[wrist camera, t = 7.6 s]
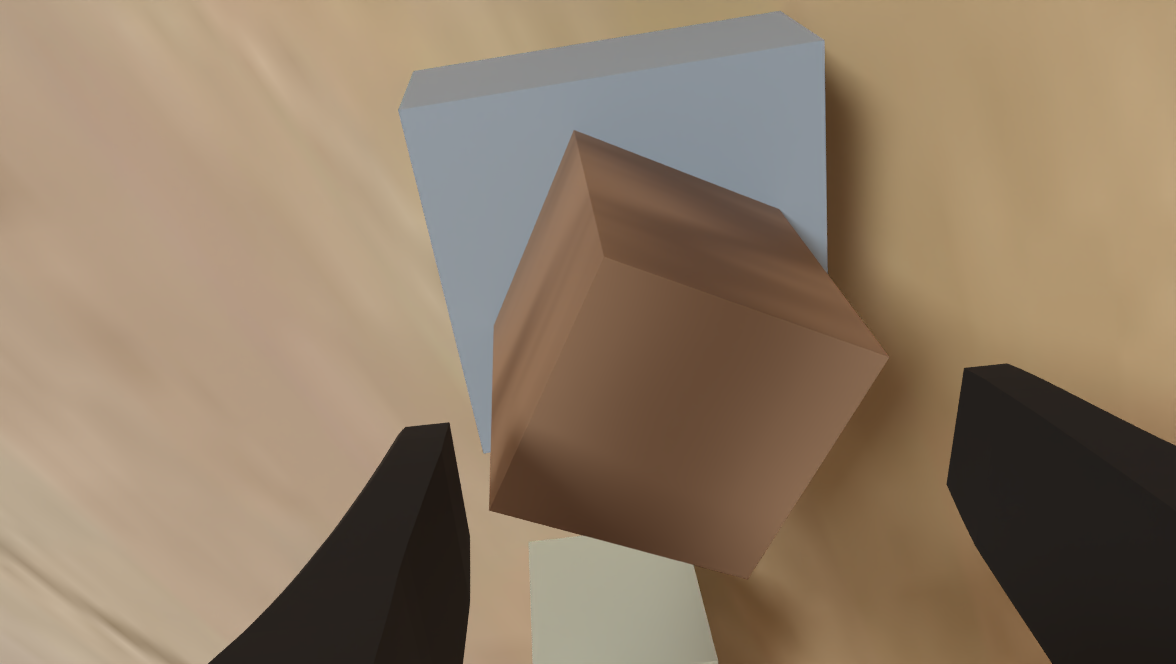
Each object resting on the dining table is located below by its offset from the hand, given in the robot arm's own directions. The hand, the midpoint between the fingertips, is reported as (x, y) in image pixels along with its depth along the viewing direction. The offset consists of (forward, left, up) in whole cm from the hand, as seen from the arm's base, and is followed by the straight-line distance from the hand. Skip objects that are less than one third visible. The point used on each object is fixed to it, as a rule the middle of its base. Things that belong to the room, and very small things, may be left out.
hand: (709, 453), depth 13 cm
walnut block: (0, 0, -7) cm, 7 cm away
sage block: (+1, +12, -10) cm, 16 cm away
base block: (0, 0, -10) cm, 10 cm away
